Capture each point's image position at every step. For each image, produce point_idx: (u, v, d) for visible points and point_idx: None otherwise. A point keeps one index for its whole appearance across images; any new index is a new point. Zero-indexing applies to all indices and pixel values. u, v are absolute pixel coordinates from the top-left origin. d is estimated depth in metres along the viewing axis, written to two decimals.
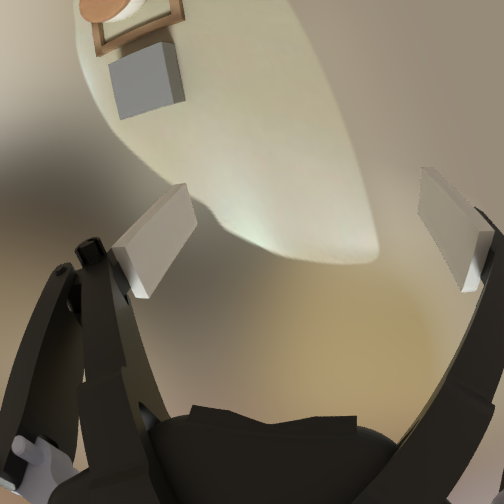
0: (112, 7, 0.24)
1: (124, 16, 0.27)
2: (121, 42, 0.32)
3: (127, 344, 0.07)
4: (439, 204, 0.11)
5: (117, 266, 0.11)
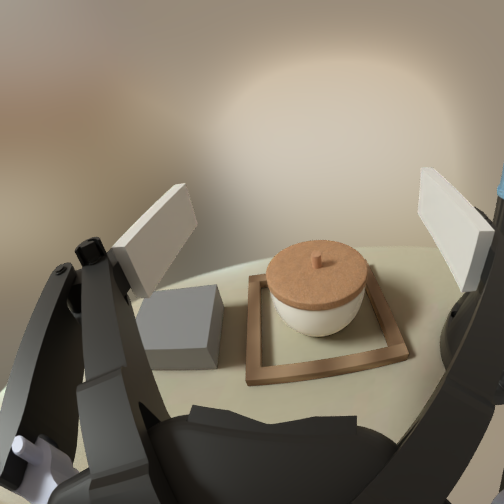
0: (279, 279, 0.28)
1: None
2: (249, 304, 0.36)
3: (127, 344, 0.07)
4: (439, 204, 0.11)
5: (117, 266, 0.11)
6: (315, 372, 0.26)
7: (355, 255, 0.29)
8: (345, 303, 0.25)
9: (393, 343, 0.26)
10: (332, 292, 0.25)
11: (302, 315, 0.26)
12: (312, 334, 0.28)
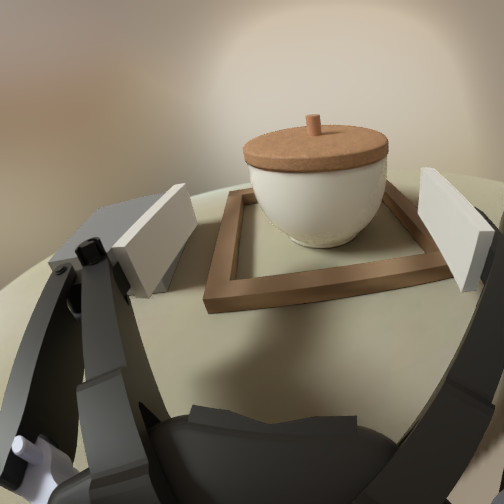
0: (261, 145, 0.19)
1: (253, 190, 0.21)
2: (225, 214, 0.26)
3: (127, 344, 0.07)
4: (439, 204, 0.11)
5: (117, 266, 0.11)
6: (321, 285, 0.16)
7: (367, 129, 0.19)
8: (361, 165, 0.15)
9: (438, 249, 0.16)
10: (339, 146, 0.15)
11: (295, 184, 0.16)
12: (314, 230, 0.18)
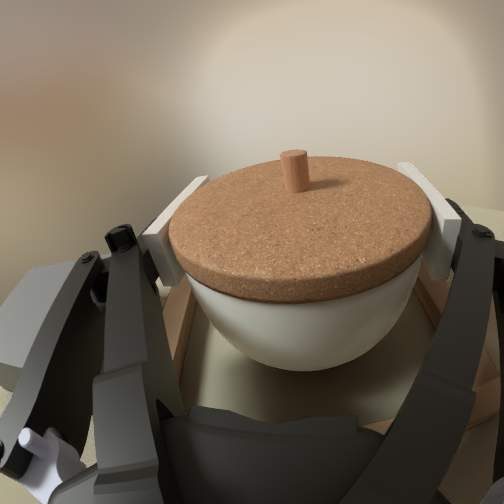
0: (196, 217, 0.11)
1: None
2: (172, 292, 0.18)
3: (150, 337, 0.07)
4: None
5: (147, 254, 0.11)
6: None
7: (390, 172, 0.11)
8: (385, 280, 0.07)
9: (479, 381, 0.08)
10: (343, 241, 0.08)
11: (249, 317, 0.09)
12: (287, 368, 0.10)
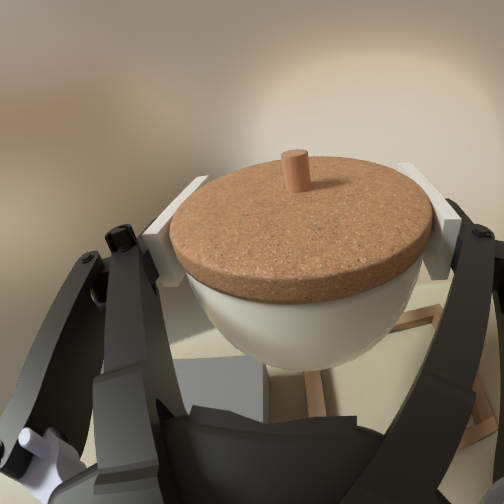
0: (197, 217, 0.11)
1: None
2: (306, 377, 0.24)
3: (150, 337, 0.07)
4: None
5: (147, 254, 0.11)
6: None
7: (390, 172, 0.11)
8: (386, 280, 0.07)
9: (483, 418, 0.15)
10: (345, 241, 0.08)
11: (250, 317, 0.09)
12: (288, 368, 0.10)
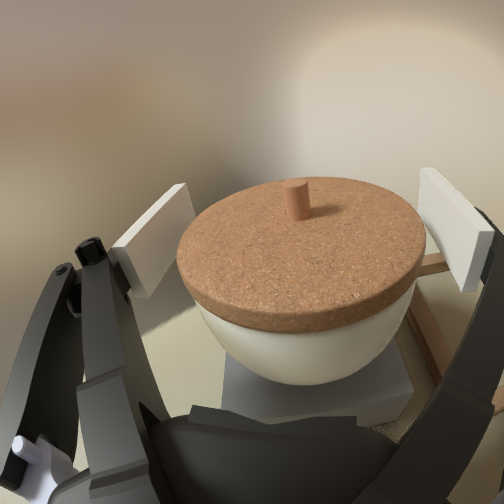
0: (203, 245, 0.11)
1: None
2: (410, 304, 0.20)
3: (127, 344, 0.07)
4: (439, 204, 0.11)
5: (117, 266, 0.11)
6: None
7: (388, 196, 0.12)
8: (378, 310, 0.08)
9: None
10: (340, 275, 0.08)
11: (253, 342, 0.09)
12: (289, 383, 0.11)
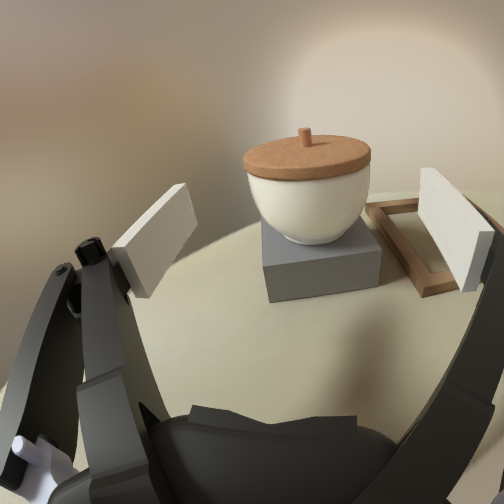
0: (259, 155, 0.22)
1: (252, 194, 0.24)
2: (382, 224, 0.30)
3: (127, 344, 0.07)
4: (439, 204, 0.11)
5: (117, 266, 0.11)
6: None
7: (353, 140, 0.23)
8: (345, 173, 0.19)
9: None
10: (326, 158, 0.19)
11: (288, 191, 0.20)
12: (305, 230, 0.22)
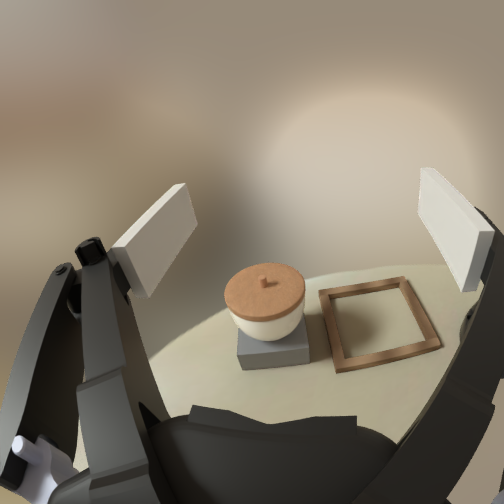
0: (233, 295, 0.37)
1: None
2: (325, 313, 0.45)
3: (127, 344, 0.07)
4: (439, 204, 0.11)
5: (117, 266, 0.11)
6: (382, 359, 0.35)
7: (297, 277, 0.38)
8: (281, 316, 0.34)
9: (430, 337, 0.36)
10: (270, 307, 0.34)
11: (248, 324, 0.35)
12: (260, 339, 0.37)
